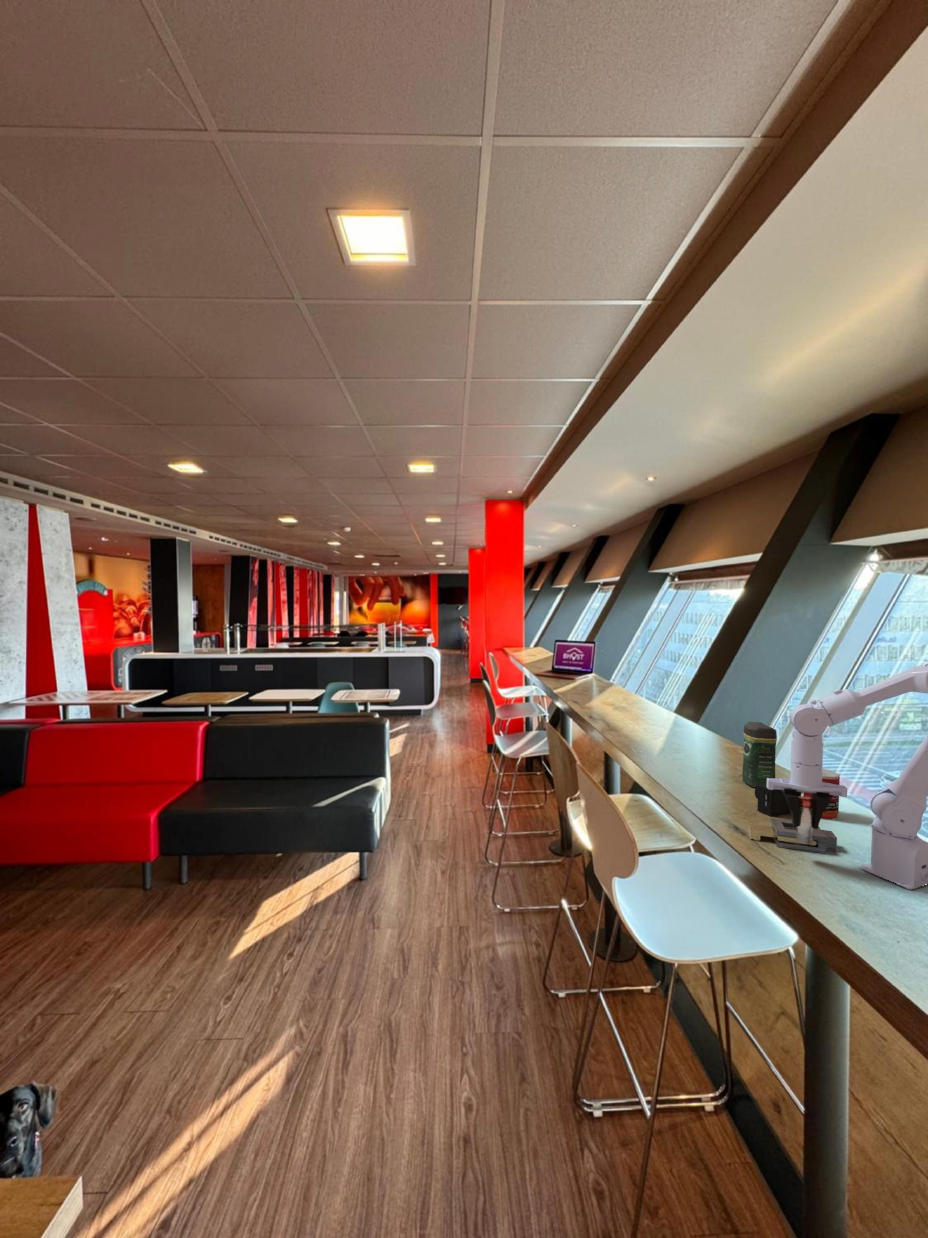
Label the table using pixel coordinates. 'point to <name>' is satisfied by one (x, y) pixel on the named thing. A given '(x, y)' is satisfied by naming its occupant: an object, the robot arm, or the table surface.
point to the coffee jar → (758, 753)
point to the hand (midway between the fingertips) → (804, 826)
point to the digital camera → (771, 801)
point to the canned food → (833, 807)
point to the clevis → (793, 836)
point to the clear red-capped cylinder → (805, 820)
